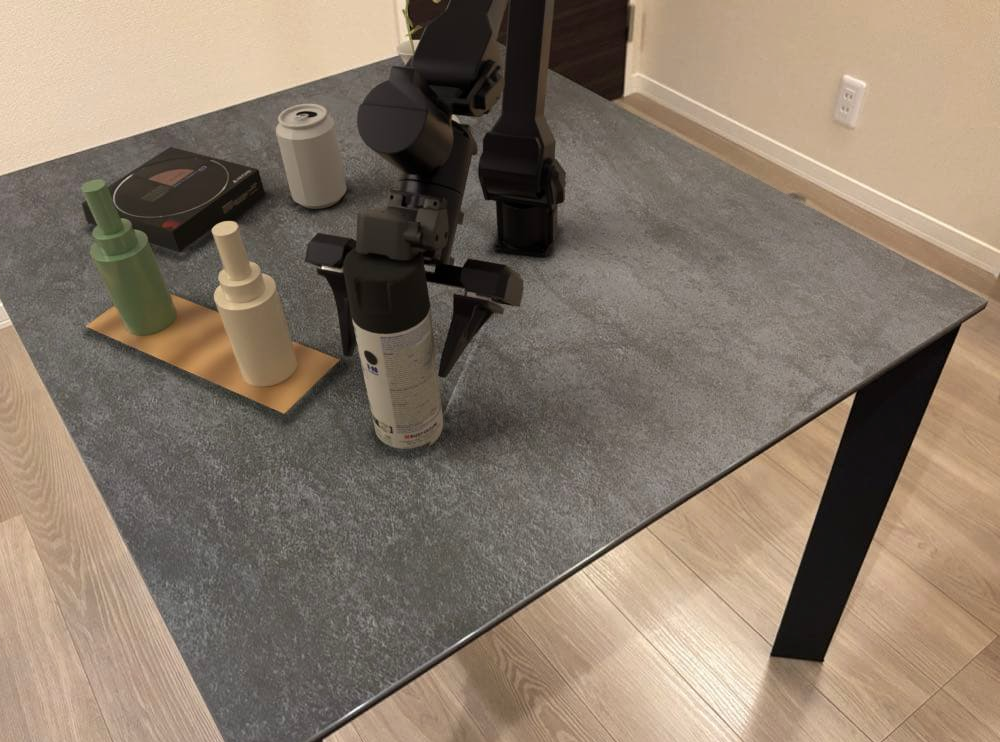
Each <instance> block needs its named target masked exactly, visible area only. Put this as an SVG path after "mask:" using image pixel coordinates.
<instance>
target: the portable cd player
mask: <svg viewBox="0 0 1000 742" xmlns="http://www.w3.org/2000/svg"><path fill="white" fill-rule="evenodd" d="M107 187H108V189H109V192H110V194H111V196H112V199H113V201H114V204H115V206H116V208H117V211H118V213H119V216H120V218H124V219H127V220H129V221H130V222H131V224H132V226H133V229H135V230H139V231H142V232H144V233H145V234H146V235H147V237H148V240H149V242H150V244H153V245H155V246H159V247H161V248H165V249H168V250H170V251H174V252H177V253H181V252H183V251H184V250H185V249H187V248H188V247H189V246H190V245H192V244H193V243H194V242H196V241H197V240H199V239H200V238H202V236H204V235H206V234H207V233H208V232H209V231H212V228H213V227H214V226H215V225H217V224H218V223H221V222H225V221H233V222H234V220H236V219H237V218H238V217H239V216H241V215H242V214H243V213H245V212H246V211H247V210H249V209H250V208H252V207H253V206H254V205H255V204H256V203H258V202H259V201H261V200H262V199H263V198H264V197H266V192H265V188H264V184H263V180H262V177H261V173H260V170H259V168H255V167H252V166H247V165H243V164H239V163H237V162H236V163H235V162H232V161H228V160H224V159H220V158H216V157H213V156H209V155H204V154H200V153H198V152H197V153H196V152H193V151H189V150H185V149H181V148H178V147H174V146H170V147H168V148H166V149H164V150H163V151H161V152H160V153H158V154H157V155H155V156H153V157H152V158H150V159H148V161H146V162H145V163H142V164H141V165H139V166H138V167H136V168H135V169H133V170H131V171H130V172H129V173H127V174H125V175H124V176H122V177H121V178H119V179H117V180H116V181H115V182H113V183H111V184H109V185H107ZM81 207H82V209H83V213H84V216H85V221H86V222H87V223H88V224H90V225H91V224H92V225H93V226H97V224H96V221H95V219H94V217H93V215H92V212H91V210H90V208H89V206H88V203H87V201H86V200H84V201H83V202H81Z"/></svg>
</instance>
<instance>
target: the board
mask: <svg viewBox="0 0 1000 742" xmlns="http://www.w3.org/2000/svg"><path fill="white" fill-rule="evenodd" d="M170 295H171V297H172V300H173V302H174V305H175V307H176V310H177V317H176V319H175V321H174V322H173V323H172V324H171V325H170V326H169V327H167V328H166V329H164V330H162V331H160V332H158V333H155V334H151V335H144V336H139V335H133V334H130V333H129V332H127V331H126V330H125V328H124V326H123V324H122V321H121V319H120V317H119V315H118V313H117V311H116V309H115V306H114V305H112V306H111V307H109V309H107V310H106V311H105V312H103V313H101V314H100V315H99V316H97V317H95V319H93V320H92V321H90V322H89V323H87V324H86V326H85V327H87V328H88V329H91V330H93V331H95V332H98V333H99V334H102V335H105V336H106V337H109V338H111V339H113V340H116V341H118V342H121V343H122V344H124V345H127V346H128V347H131V348H134V349H135V350H138V351H141V352H143V353H145V354H147V355H150V356H151V357H154V358H157V359H159V360H161V361H163V362H166V363H168V364H170V365H173V366H175V367H177V368H179V369H181V370H183V371H184V370H185V371H187V372H189V373H191V374H193V375H195V376H197V377H199V378H202V379H205V380H206V381H209V382H211V383H213V384H216V385H218V386H221V387H222V388H224V389H227V390H229V391H231V392H234V393H236V394H238V395H240V396H243V397H246V398H248V399H250V400H252V401H254V402H257V403H260V404H261V405H263V406H265V407H268V408H270V409H272V410H275V411H277V412H278V413H279V412H280V413H281V414H283V415H285V414H286V413H287V412H288V411H289V410H290V409H291V408H293V406H294V405H296V403H298V402H299V401H300V400H301V399H302V398H303V397H304V396H305V395H306V394H307V393H308V392H309V391H310V390H311V389H312V388H313V387H315V385H316V384H318V382H319V381H320V380H321V379H322V378H323V377H324V376H326V374H328V372H329V371H330V370H332V368H334V367H335V365H337V364H338V362H340V361H341V359H340V358H337V357H334V356H332V355H329V354H326V353H325V352H321V351H319V350H317V349H314V348H311V347H308V346H306V345H304V344H301V343H298V342H296V341H293V340H292V343H293V347H294V350H295V354H296V357H297V361H298V364H297V368H296V370H295V372H294V373H293V374H292V375H291V376H290V377H289V378H288V379H286V380H285V381H283V382H281V383H279V384H276V385H272V386H266V387H259V386H253V385H250V384H248V383H247V382H245V381H244V380H243V378H242V377H241V374H240V371H239V368H238V366H237V363H236V360H235V357H234V354H233V351H232V349H231V346H230V343H229V340H228V337H227V335H226V332H225V329H224V326H223V323H222V320H221V318H220V315H219V312H218V311H216V310H214V309H212V308H208V307H206V306H203V305H200V304H198V303H196V302H193V301H190V300H188V299H185V298H182V297H180V296H177V295H175V294H172V293H170Z"/></svg>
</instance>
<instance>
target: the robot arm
mask: <svg viewBox="0 0 1000 742" xmlns="http://www.w3.org/2000/svg"><path fill="white" fill-rule="evenodd" d="M507 5H508V10H507V11H508V13H507V27H506V29H507V30H506V42H505V53H504V54H505V56H504V61H503V58H502V55H501V52H500V51H501V50H500V48H499V45H498V44H499V43H498V37H499V32H500V28H501V24H502V23H503V22H502V21H503V18H504V15H505V11H506V8H507ZM554 10H555V0H449V1H448V4H447V6H446V8H445V10H444V11H443V12H442V13H440V14H439V15H438V16H437V17H435V18H434V19H433V20H432V21H431V22H430V23H428V24H427V25H426V27H424V30H423V31H422V34H421V36H420V39H419V40H420V41H419V43H418V45H417V48H416V50H415V52H414V54H413V56H412V57H411V58H410V60H409V61H408V62H407V64H406V65H405V64H404V66H403V65H392V66H391V69H390V74H389V78H388V80H385V81H383V82H381V83H379V84H377V85H376V86H375V87H373V88H372V89H371V90H370V91H369V92H368V93H367V95H366V96H365V97H364V99H363V101H362V103H360V104H359V107H358V111H357V117H356V125H357V132H358V133H359V136H360V138H361V140H362V142H363V143H364V144H365V145H366V146H367V147H368V148H369V149H371V150H372V151H373V152H374V153H376V154H378V155H379V156H380V157H381V158H382V159H384V160H385V161H387V162H388V163H390V165H392V166H393V167H395V168H396V169H397V170H398V171H400V175H399V180H398V185H397V189H390V190H389V194H388V195H387V198H386V203H385V205H384V207H374V208H370V209H365V210H361V211H358V212H357V213H356V233H355V235H356V236H355V239H354V238H352V237H345V236H339V235H333V234H328V233H322V232H317V233H316V234H315V235H314V237H312V239H311V240H310V241H309V242H308V243H307V247H306V251H305V256H304V263H307V264H310V265H313V266H316V267H317V268H315V271H316V275H317V276H320V277H322V278H325V280H326V282H327V283H328V286H329V288H330V289H331V291H332V294H333V297H334V302H335V306H336V311H337V318H338V324H339V326H338V327H339V333H340V341H341V348H342V354H343V356H344V357H349V358H351V357H353V355H354V353H355V351H356V347H357V346H358V345H357V340H356V335H355V330H354V325H353V321H352V316H351V312H350V305H349V299H348V293H347V288H346V283H345V277H344V271H343V263H344V260H345V257H346V256H347V255H348V253H349V252H350V251H351V250H352V249H354V248H355V247H356V252H357V253H359V254H364V255H368V254H370V253H372V254H378V255H384V256H388V257H389V259H392V260H399V261H408V260H412V259H413V258H414V256H416V255H418V253H419V252H420V251H421V252H422V254H423V257H424V266H428V267H434V271H430V270H425V273H426V280H427V283H429V284H433V285H434V284H435V285H441V286H446V287H452V288H456V289H463V291H464V295H463V294H459V293H458V294H457V293H453V295H452V317H451V321H450V323H449V327H448V332H447V334H446V338H445V342H444V346H443V349H442V353H441V356H440V361H439V368H438V378H443V379H445V378H447V377H448V376H449V374H450V373H451V371H452V369H453V368H454V366H455V365H456V364H457V362H458V360H459V359H460V357H461V356H462V354H463V353H464V351H465V350H466V348H467V347H468V345H469V344H470V343H471V342H472V340H473V338H474V337H475V336H476V335H477V334H478V332H479V331H480V330H481V329H482V328H483V327H484V325H485V324H486V323H487V322H488V321H489V319H490V318H491V317H492V316H493V315H494V314H498V315H503V314H504V312H505V308H504V307H503V305H505V306H510V307H515V308H518V307H519V308H520V307H521V302H522V298H523V294H524V290H525V287H524V285H525V284H524V279H523V278H522V276H521V274H520V273H518V272H517V271H516V270H514V269H512V268H511V267H510V266H508V265H507V264H505V263H497V262H491V261H486V260H479V259H474V258H467V259H466V261H465V262H464V264H463V266H459V265H455V258H454V257H452V251H453V248H454V241H455V237H456V233H457V228H458V225H460V226H462V225H463V222H464V218H465V213H464V212H463V211H462V210H461V209H462V205H463V200H464V196H465V191H466V186H467V181H468V176H469V172H470V168H471V163H472V158H473V156H476V155H477V154H478V151H479V150H478V144H477V141H476V139H475V138H474V136H473V134H472V131H471V126H470V124H469V123H461V122H460V123H458V122H456V121H454V120H452V115H455V116H461V117H471V118H481V117H483V116H484V115H488V114H490V112H491V111H492V109H493V107H495V105H497V104H498V103H499V100H500V99H501V110H500V116H499V117H498V119H497V120H496V121H495V123H494V125H493V126H492V127H491V129H490V131H487V132H486V133H485V135H484V136H483V139H482V152H481V155H480V156H479V160H478V167H477V176H478V180H479V183H480V187H481V191H482V196H483V198H484V201H494V202H495V211H496V212H495V214H496V231H497V238H496V241H495V243H494V245H493V251H494V252H497V253H504V254H507V253H508V254H515V255H523V256H524V255H525V256H533V257H542V258H543V257H545V256H547V254H548V252H549V249H550V246H552V245H553V244H554V242H555V240H556V237H557V236H558V225H559V223H558V219H559V218H558V217H559V216H558V215H559V214H558V211H559V209H558V208H559V204H563V203H564V202H565V201H566V186H567V182H566V177H567V171H566V170H565V169H564V167H563V166H562V165H561V164H560V162H559V161H558V159H557V158H556V145H557V143H556V138H555V136H554V134H553V132H552V129H551V128H550V125H549V123H548V121H547V119H546V117H545V106H546V95H547V84H548V74H549V63H550V51H551V43H552V42H551V41H552V31H553V30H552V29H553V20H554ZM503 68H504V70H503ZM501 97H502V98H501Z"/></svg>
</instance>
